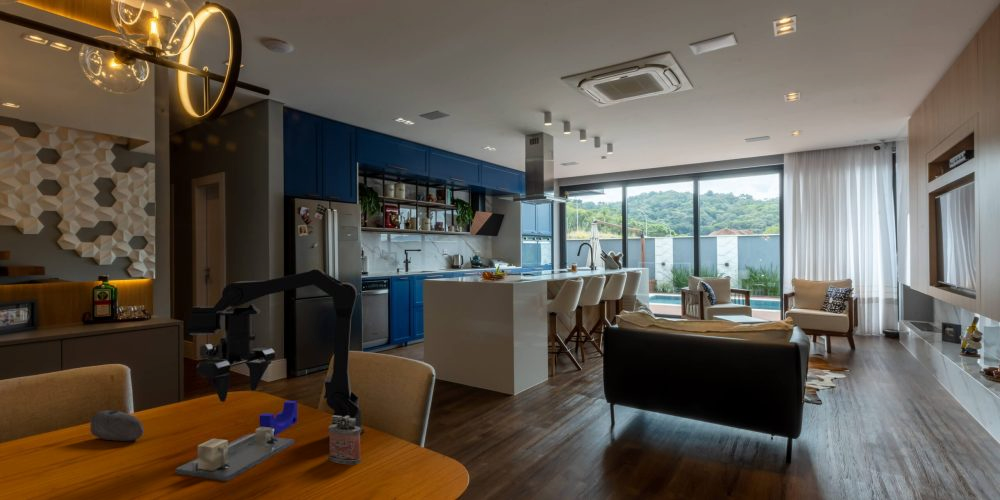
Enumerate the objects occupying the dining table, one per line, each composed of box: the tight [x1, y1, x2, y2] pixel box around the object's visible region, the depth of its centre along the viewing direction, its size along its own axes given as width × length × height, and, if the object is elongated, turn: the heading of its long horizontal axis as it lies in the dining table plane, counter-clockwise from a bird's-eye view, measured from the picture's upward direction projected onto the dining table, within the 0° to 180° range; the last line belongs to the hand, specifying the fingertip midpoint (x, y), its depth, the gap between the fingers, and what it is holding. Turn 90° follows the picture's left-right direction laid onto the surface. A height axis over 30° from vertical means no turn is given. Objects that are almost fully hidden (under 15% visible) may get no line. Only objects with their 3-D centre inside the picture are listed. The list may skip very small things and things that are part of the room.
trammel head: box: [197, 438, 229, 471], centre depth 102 cm, size 5×4×5 cm
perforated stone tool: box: [89, 409, 145, 442], centre depth 121 cm, size 15×5×7 cm, turn 74°
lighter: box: [328, 414, 362, 465], centre depth 107 cm, size 8×3×10 cm, turn 71°
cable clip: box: [259, 400, 298, 437], centre depth 127 cm, size 12×4×6 cm, turn 172°
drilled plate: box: [175, 426, 295, 482], centre depth 109 cm, size 14×20×4 cm
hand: (238, 395), depth 115 cm, fingers open, 9 cm apart
